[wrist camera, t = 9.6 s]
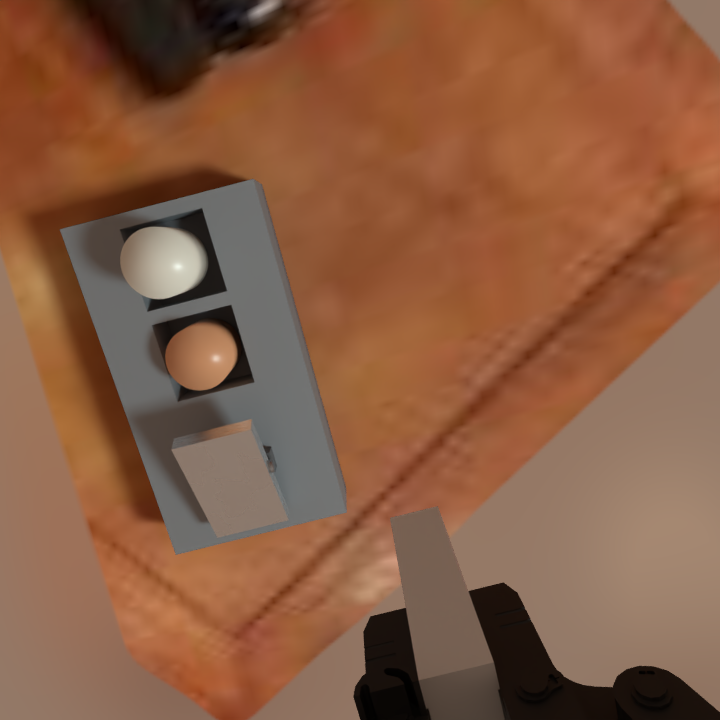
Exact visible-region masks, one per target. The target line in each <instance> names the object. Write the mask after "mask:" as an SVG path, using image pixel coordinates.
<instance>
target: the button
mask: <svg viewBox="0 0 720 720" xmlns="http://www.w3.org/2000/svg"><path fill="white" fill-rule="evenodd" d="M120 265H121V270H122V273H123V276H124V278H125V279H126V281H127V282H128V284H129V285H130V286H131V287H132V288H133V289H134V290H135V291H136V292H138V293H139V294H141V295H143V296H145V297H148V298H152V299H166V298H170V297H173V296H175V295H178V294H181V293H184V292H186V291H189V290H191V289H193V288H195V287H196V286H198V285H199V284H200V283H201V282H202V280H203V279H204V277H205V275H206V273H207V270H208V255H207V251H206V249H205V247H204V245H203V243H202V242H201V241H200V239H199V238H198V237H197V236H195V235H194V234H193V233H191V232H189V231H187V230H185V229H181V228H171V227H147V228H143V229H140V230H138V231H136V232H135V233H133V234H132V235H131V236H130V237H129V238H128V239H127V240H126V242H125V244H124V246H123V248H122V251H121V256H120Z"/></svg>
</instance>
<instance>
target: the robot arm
mask: <svg viewBox="0 0 720 720" xmlns="http://www.w3.org/2000/svg"><path fill="white" fill-rule="evenodd" d="M390 520H391V526H392V532H393V537H394V543H395V549H396V554H397V560H398V566H399V571H400V577H401V583H402V588H403V594H404V599H405V605H406V608H403V609H399V610H395V611H391V612H387V613H383V614H379V615H374V616H371V617H370V619H369V621H368V623H367V626H366V628H365V630H364V648H365V662H366V663H365V667H366V674H365V675H363V676H362V677H361V679H360V680H359V682H358V683H357V685H356V686H355V691H354V700H355V703H356V707H357V710H358V713H359V717H360V719H361V720H720V712H719V711H718V710H716V709H715V708H714V707H713V706H712V705H711V704H709V703H708V702H707V701H706V700H705V699H704V698H702V697H701V696H700V695H699V694H698V693H697V692H695V691H694V690H693V689H692V688H691V687H689V686H688V685H687V684H686V683H685V682H684V681H682V680H681V679H680V678H679V677H677V676H675V675H674V674H672V673H670V672H669V671H667V670H664V669H660V668H657V667H652V666H637V667H633V668H630V669H626V670H625V671H624V672H622V673H621V674H620V675H618V676H617V678H616V680H615V682H614V685H613V687H594V686H586V685H582V684H578V683H575V682H573V681H571V680H569V679H567V678H565V677H564V676H563V675H562V674H561V672H559V671H557V670H556V668H555V667H554V665H553V664H552V662H551V660H550V658H549V656H548V654H547V652H546V649H545V647H544V646H543V643H542V641H541V639H540V637H539V635H538V633H537V631H536V629H535V627H534V625H533V623H532V622H531V620H530V617H529V615H528V613H527V611H526V610H525V607H524V605H523V603H522V601H521V599H520V597H519V595H518V593H517V592H516V591H514V590H513V589H511V588H510V587H509V586H507V585H506V584H505V583H500V584H496V585H492V586H487V587H483V588H480V589H475V590H471V591H468V589H467V586H466V584H465V581H464V578H463V575H462V572H461V570H460V567H459V564H458V561H457V559H456V556H455V553H454V550H453V548H452V545H451V542H450V539H449V536H448V533H447V531H446V528H445V525H444V522H443V520H442V517H441V514H440V511H439V508H438V506H437V507H433V508H429V509H424V510H420V511H416V512H412V513H408V514H404V515H400V516H396V517H392V518H390Z"/></svg>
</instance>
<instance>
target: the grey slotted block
mask: <svg viewBox="0 0 720 720" xmlns="http://www.w3.org/2000/svg"><path fill="white" fill-rule="evenodd" d="M147 227H171V228H181V229H185V230H187V231H189V232H191V233H193V234H194V235H195V236H197V237H198V238H199V239H200V241H201V242H202V243H203V245H204V247H205V249H206V251H207V255H208V270H207V273H206V275H205V277H204V279H203V280H202V282H201V283H200V284H199V285H198V286H196V287H195V288H193V289H191V290H189V291H186V292H184V293H181V294H178V295H175V296H173V297H170V298H166V299H152V298H148V297H145V296H143V295H141V294H139V293H138V292H136V291H135V290H134V289H133V288H132V287H131V286H130V285H129V284H128V282H127V281H126V279H125V278H124V276H123V273H122V270H121V265H120V256H121V251H122V248H123V246H124V244H125V242H126V240H127V239H128V238H129V237H130V236H131V235H132V234H133V233H135V232H136V231H138V230H140V229H143V228H147ZM60 231H61V234H62V237H63V240H64V243H65V245H66V248H67V251H68V254H69V257H70V259H71V262H72V265H73V268H74V271H75V273H76V276H77V279H78V282H79V285H80V287H81V290H82V293H83V296H84V299H85V301H86V304H87V307H88V310H89V313H90V315H91V318H92V321H93V324H94V327H95V329H96V332H97V335H98V338H99V341H100V343H101V346H102V349H103V352H104V355H105V357H106V360H107V363H108V366H109V369H110V371H111V374H112V377H113V380H114V383H115V385H116V388H117V391H118V394H119V397H120V399H121V402H122V405H123V408H124V411H125V413H126V416H127V419H128V422H129V425H130V427H131V430H132V433H133V436H134V439H135V441H136V444H137V447H138V450H139V453H140V455H141V458H142V461H143V464H144V467H145V469H146V472H147V475H148V478H149V481H150V483H151V486H152V489H153V492H154V495H155V497H156V500H157V503H158V506H159V509H160V511H161V514H162V517H163V520H164V523H165V525H166V528H167V531H168V534H169V537H170V539H171V542H172V545H173V548H174V551H175V553H176V555H177V554H181V553H185V552H189V551H193V550H197V549H201V548H205V547H209V546H213V545H217V544H221V543H225V542H229V541H233V540H237V539H241V538H245V537H249V536H253V535H257V534H261V533H266V532H270V531H274V530H278V529H282V528H286V527H290V526H294V525H298V524H302V523H306V522H310V521H314V520H318V519H322V518H326V517H330V516H334V515H338V514H342V513H346V512H347V509H346V486H345V482H344V479H343V475H342V472H341V468H340V464H339V461H338V457H337V454H336V450H335V446H334V443H333V439H332V436H331V432H330V428H329V425H328V421H327V417H326V414H325V410H324V407H323V403H322V399H321V396H320V392H319V389H318V385H317V381H316V378H315V374H314V371H313V367H312V363H311V360H310V356H309V353H308V349H307V345H306V342H305V338H304V335H303V331H302V327H301V324H300V320H299V316H298V313H297V309H296V306H295V302H294V298H293V295H292V291H291V288H290V284H289V280H288V277H287V273H286V270H285V266H284V262H283V259H282V255H281V252H280V248H279V244H278V241H277V237H276V234H275V230H274V226H273V223H272V219H271V216H270V212H269V208H268V205H267V201H266V197H265V194H264V190H263V187H262V184H260V183H259V182H257V181H256V180H254V179H251V180H247V181H243V182H240V183H236V184H232V185H228V186H224V187H220V188H217V189H213V190H209V191H205V192H201V193H197V194H194V195H190V196H186V197H182V198H178V199H174V200H171V201H167V202H163V203H159V204H155V205H151V206H148V207H144V208H140V209H136V210H132V211H128V212H125V213H121V214H117V215H113V216H109V217H105V218H102V219H98V220H94V221H90V222H86V223H82V224H79V225H75V226H71V227H67V228H63V229H60ZM205 318H216V319H220V320H223V321H225V322H227V323H228V324H230V325H231V326H232V327H233V328H234V329H235V330H236V332H237V333H238V335H239V337H240V340H241V346H242V350H241V356H240V359H239V361H238V362H237V364H236V365H235V367H234V368H233V369H232V370H231V371H230V373H229V374H228V375H227V376H226V378H225V379H224V380H223V381H222V382H221V383H220V384H219V385H217V386H215V387H213V388H211V389H208V390H192V389H188V388H186V387H184V386H182V385H180V384H179V383H178V382H177V381H175V379H174V378H173V377H172V376H171V375H170V373H169V371H168V369H167V366H166V360H165V354H166V349H167V346H168V344H169V342H170V340H171V339H172V338H173V336H174V335H176V334H177V333H178V332H180V331H181V330H183V329H185V328H186V327H188V326H190V325H191V324H193V323H195V322H196V321H199V320H201V319H205ZM250 419H252V421H253V423H254V426H255V428H256V431H257V433H258V435H259V438H260V440H261V443H262V445H263V448H264V450H265V452H266V455H267V457H268V460H270V459H273V460H274V463H275V467H276V472H275V473H274V474H275V477H276V479H277V482H278V484H279V486H280V489H281V491H282V494H283V496H284V499H285V501H286V504H287V506H288V508H289V520H287V521H283V522H279V523H275V524H271V525H267V526H263V527H259V528H255V529H251V530H247V531H243V532H239V533H235V534H231V535H227V536H223V537H219V538H217V536H216V534H215V532H214V530H213V528H212V526H211V525H210V523H209V521H208V519H207V517H206V515H205V513H204V511H203V509H202V507H201V506H200V504H199V502H198V500H197V498H196V496H195V494H194V492H193V490H192V488H191V486H190V485H189V483H188V481H187V479H186V477H185V475H184V473H183V471H182V469H181V467H180V465H179V464H178V462H177V460H176V458H175V456H174V454H173V452H172V450H171V449H172V445H173V441H174V439H175V438H179V437H183V436H187V435H190V434H194V433H198V432H202V431H206V430H210V429H214V428H218V427H222V426H226V425H230V424H234V423H238V422H242V421H246V420H250Z"/></svg>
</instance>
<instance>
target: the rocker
mask: <svg viewBox="0 0 720 720" xmlns="http://www.w3.org/2000/svg"><path fill="white" fill-rule="evenodd" d="M171 450H172V452H173V454H174V456H175V458H176V460H177V462H178V464H179V465H180V467H181V469H182V471H183V473H184V475H185V477H186V479H187V481H188V483H189V485H190V486H191V488H192V490H193V492H194V494H195V496H196V498H197V500H198V502H199V504H200V506H201V507H202V509H203V511H204V513H205V515H206V517H207V519H208V521H209V523H210V525H211V526H212V528H213V530H214V532H215V534H216V536H217V538H219V537H223V536H227V535H231V534H235V533H239V532H243V531H247V530H251V529H255V528H259V527H263V526H267V525H271V524H275V523H279V522H283V521H287V520H289V508H288V506H287V504H286V501H285V499H284V496H283V494H282V491H281V489H280V486H279V484H278V482H277V479H276V477H275V474H274V473H275V472H276V467H275V463H274V460H273V459H270V460H268V457H267V455H266V452H265V450H264V448H263V445H262V443H261V440H260V438H259V435H258V433H257V431H256V428H255V426H254V423H253V421H252V419H250V420H246V421H242V422H238V423H234V424H230V425H226V426H222V427H218V428H214V429H210V430H206V431H202V432H198V433H194V434H190V435H187V436H183V437H179V438H175V439H174V441H173V445H172V449H171Z"/></svg>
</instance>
